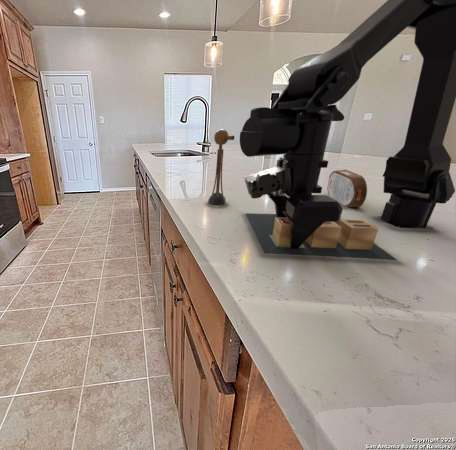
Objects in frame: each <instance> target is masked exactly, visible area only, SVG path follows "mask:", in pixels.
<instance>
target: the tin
mask: <svg viewBox="0 0 456 450" xmlns="http://www.w3.org/2000/svg"><path fill="white" fill-rule="evenodd" d="M328 178H329V179H328V182H327V194H328V197H330V198H332V199H333V200H335V201H337V202H338V203H339V204H340V205H343V206H344V207H347V208H360V207H361V206H362V205H363V204H364V203H365V202H366V199H367V194H368V185H367V181H366V179H365V178H364V176H363V175H362V174H358V173H356V172H354V171H351V170H348V169H337V170H333V171H332V172H331V173H330V174H329V176H328Z"/></svg>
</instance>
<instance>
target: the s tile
mask: <svg viewBox="0 0 456 450" xmlns="http://www.w3.org/2000/svg"><path fill="white" fill-rule="evenodd" d="M290 225H291V221H290V220H289V219H288V217H275V223H274V229H273V234H272V236H273V238H274V239H275V241H276V243H277V244H278V245H286V246H290ZM301 246H302V245H301Z"/></svg>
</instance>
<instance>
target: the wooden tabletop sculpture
mask: <svg viewBox="0 0 456 450" xmlns="http://www.w3.org/2000/svg"><path fill="white" fill-rule="evenodd" d="M213 139H214V142H215V143H216V145H218V148H217V153H216V168H215V176H214V177H215V178H214V185H213V189H212V192H211V195H210V196H209V198H208V201H207V203H208V204H209V205H212V206H224V205H225V204H227V202H226V197H225V196H224V192H223V191H224V190H223V164H224V163H223V161H224V150H225V149H224V148H223V145H226V144H227V143H228V141H234V140H235V135H231V134H230V135H229V133H228V131H227V130H226V129H223V128H220V129H218V130H216V132H215V133H214V137H213ZM220 191H221V192H220Z"/></svg>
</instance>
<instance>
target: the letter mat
mask: <svg viewBox="0 0 456 450" xmlns="http://www.w3.org/2000/svg"><path fill="white" fill-rule="evenodd" d="M245 216H246V218H247V220H248V222H249V224H250V226H251V228H252V231H253V232H254V234H255V237H256V239H257V241H258V243H259V245H260V247H261V249H262V251H263V254H272V255H291V256H311V257H329V258H330V257H331V258H349V259H350V258H351V259H370V260H371V259H372V260H374V259H375V260H389V261H390V260H391V261H392V260H393V261H398V259H397V258H396V257H394V256H393V255H391V254H390V253H388V252H387V251H386V250H384V249H383V248H382V247H380V246H379V245H377V244H376V243H375V242H374V243H373V246H372V249H371V250H362V249H345V248H344V247H343V246H342V245H341V244H340V243H338V242H337V246H336V248H318V247H310V245H309V244H308V243H307V242H306V241H304V243H303V244H302V246H300V247H299V248H298V249H291V248H290V246H286V245H278V244H277V243H276V241H275V239H274V238H273V236H272V234H273V229H274V223H275V217H276V213H250V212H248V213H247V212H246V213H245Z"/></svg>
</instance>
